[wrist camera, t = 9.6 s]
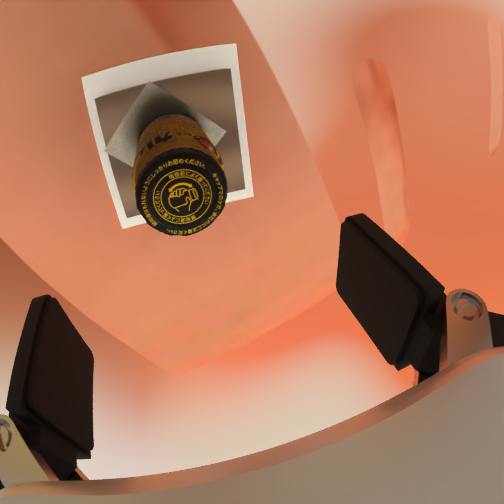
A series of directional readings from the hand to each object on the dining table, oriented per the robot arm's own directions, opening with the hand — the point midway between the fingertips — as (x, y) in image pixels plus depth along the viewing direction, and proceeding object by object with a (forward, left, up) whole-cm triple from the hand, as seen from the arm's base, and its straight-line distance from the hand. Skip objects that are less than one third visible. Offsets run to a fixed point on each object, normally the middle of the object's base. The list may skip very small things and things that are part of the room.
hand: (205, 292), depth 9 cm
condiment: (0, 0, -21) cm, 21 cm away
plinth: (0, 0, -24) cm, 23 cm away
